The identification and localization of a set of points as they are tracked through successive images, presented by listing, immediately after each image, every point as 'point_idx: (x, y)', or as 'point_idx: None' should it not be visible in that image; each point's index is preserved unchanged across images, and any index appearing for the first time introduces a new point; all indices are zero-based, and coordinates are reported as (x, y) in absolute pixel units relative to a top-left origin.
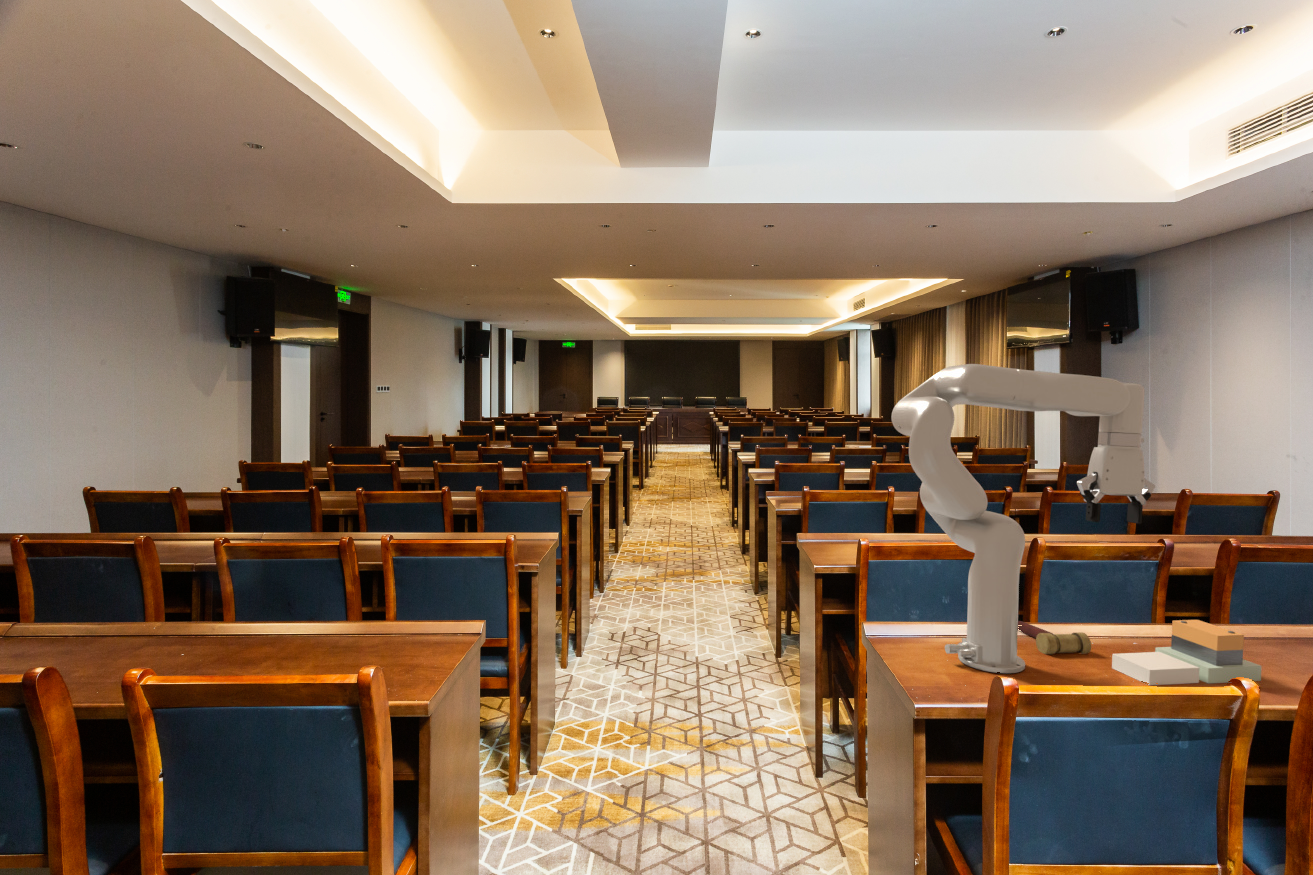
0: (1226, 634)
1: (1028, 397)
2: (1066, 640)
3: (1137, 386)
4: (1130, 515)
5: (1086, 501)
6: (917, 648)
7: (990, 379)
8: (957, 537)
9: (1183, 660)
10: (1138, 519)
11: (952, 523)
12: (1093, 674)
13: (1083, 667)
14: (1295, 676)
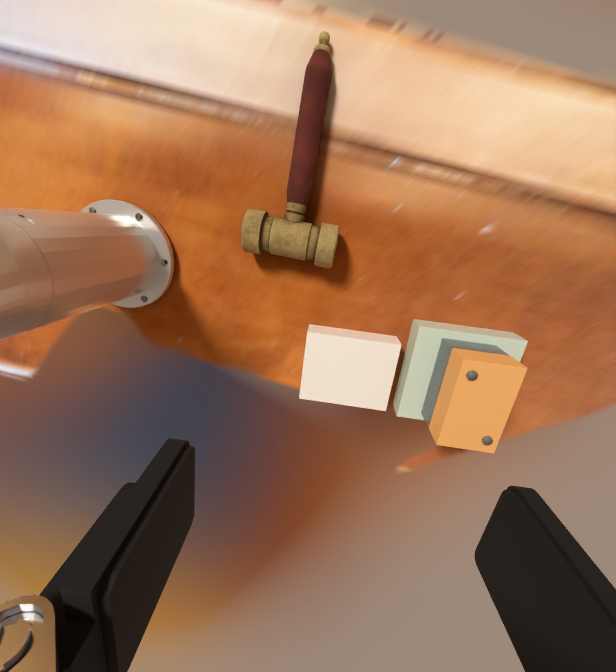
0: (463, 444)
1: None
2: (283, 253)
3: None
4: (522, 555)
5: (21, 614)
6: (26, 151)
7: None
8: None
9: (405, 376)
10: (487, 585)
11: None
12: (257, 336)
13: (265, 310)
14: (557, 419)
